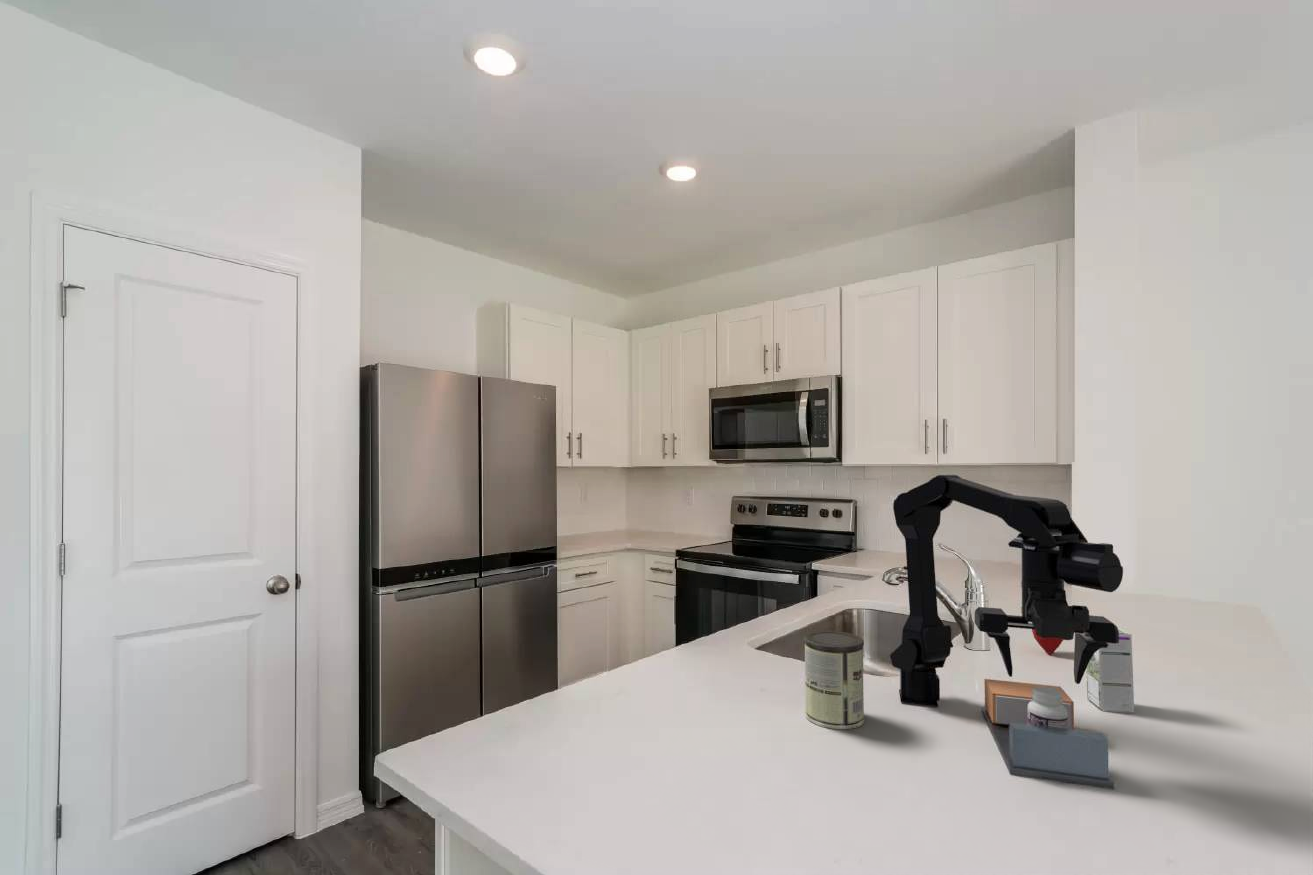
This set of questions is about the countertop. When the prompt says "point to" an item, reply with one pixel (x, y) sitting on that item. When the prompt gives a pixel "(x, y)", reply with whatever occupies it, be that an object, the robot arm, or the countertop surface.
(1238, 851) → the countertop surface
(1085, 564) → the robot arm
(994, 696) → the block
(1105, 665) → the syrup box
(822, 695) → the coffee can
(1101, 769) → the base
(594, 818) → the countertop surface
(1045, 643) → the strawberry
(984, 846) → the countertop surface
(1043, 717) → the pill bottle
